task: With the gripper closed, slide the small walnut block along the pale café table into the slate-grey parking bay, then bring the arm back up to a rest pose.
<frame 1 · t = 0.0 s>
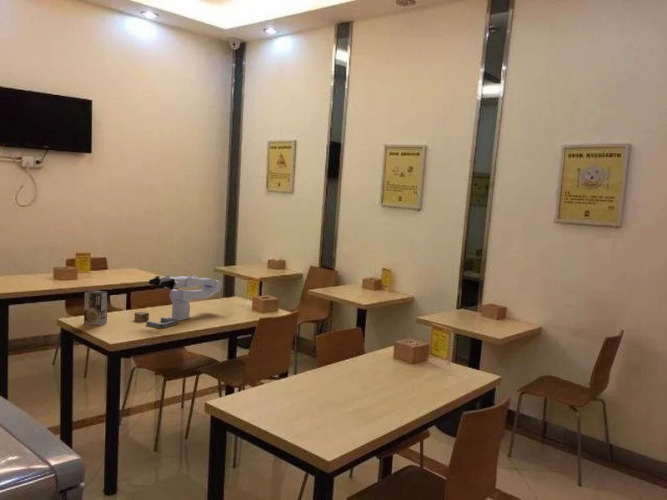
hand: (155, 283, 277), 22 cm above the table, tool horizontal, fingers open, 7 cm apart
walnut block: (141, 320, 286), on the table
bay: (159, 324, 281), on the table
coffee box: (95, 323, 273), on the table
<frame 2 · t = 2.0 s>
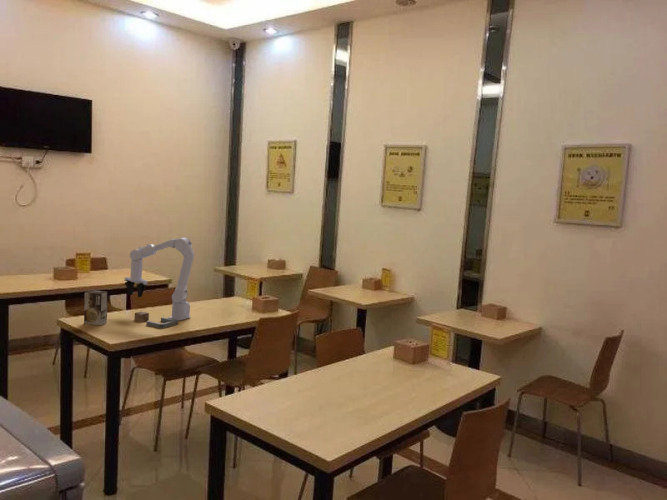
hand: (135, 295, 295), 10 cm above the table, tool pointing down, fingers open, 6 cm apart
nothing on the table moved.
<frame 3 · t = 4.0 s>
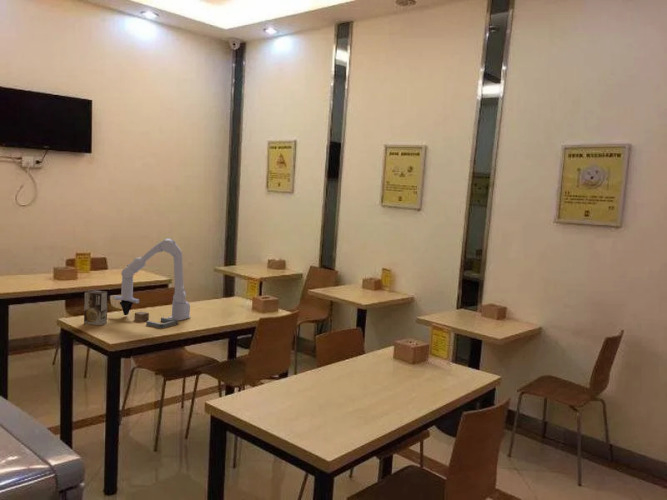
hand: (126, 314, 291), 1 cm above the table, tool pointing down, fingers closed
nothing on the table moved.
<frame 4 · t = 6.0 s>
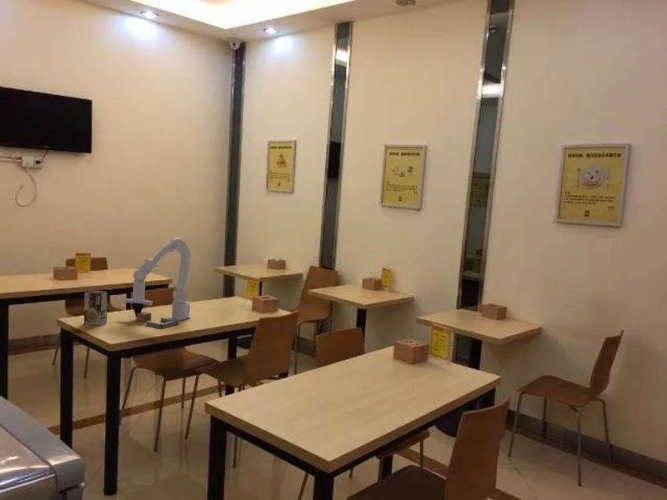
hand: (137, 317, 287), 1 cm above the table, tool pointing down, fingers closed
walnut block: (144, 320, 286), on the table, touching gripper
everything else where it was.
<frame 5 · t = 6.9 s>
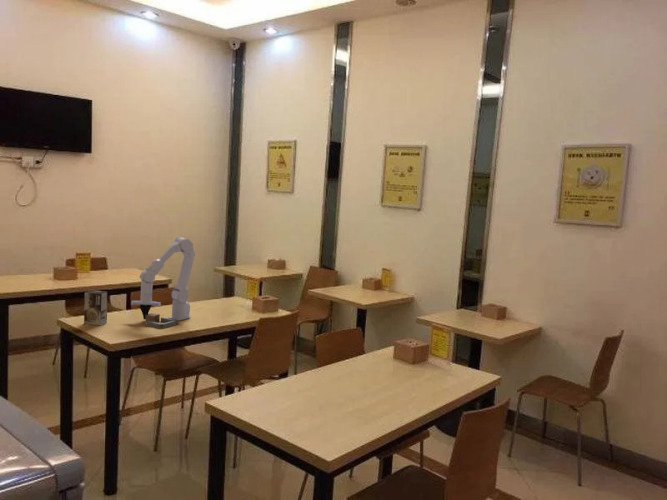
hand: (145, 319, 285), 1 cm above the table, tool pointing down, fingers closed
walnut block: (152, 322, 284), on the table, touching gripper
everything else where it was.
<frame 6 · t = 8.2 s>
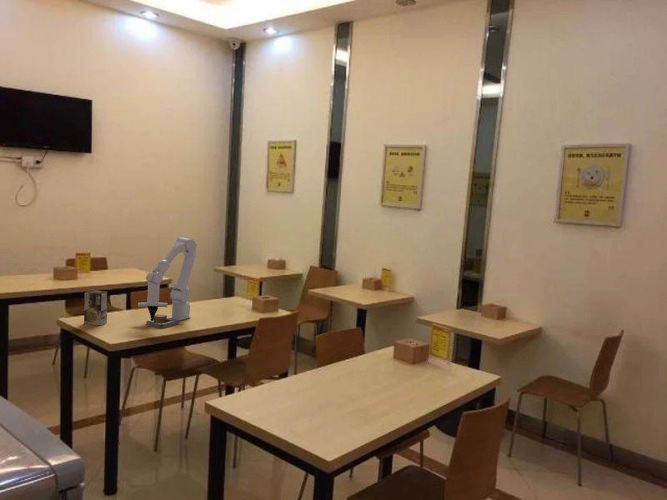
hand: (152, 320, 283), 1 cm above the table, tool pointing down, fingers closed
walnut block: (159, 323, 283), on the table, touching bay, gripper
everything else where it was.
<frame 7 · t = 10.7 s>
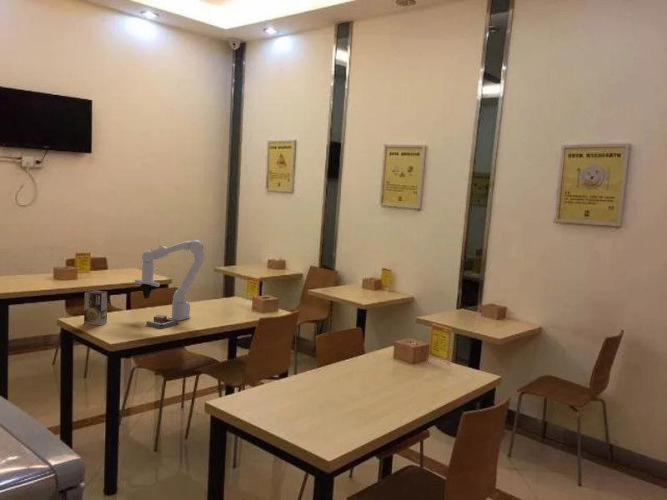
hand: (146, 298, 292), 10 cm above the table, tool pointing down, fingers closed
walnut block: (159, 323, 283), on the table
everything else where it was.
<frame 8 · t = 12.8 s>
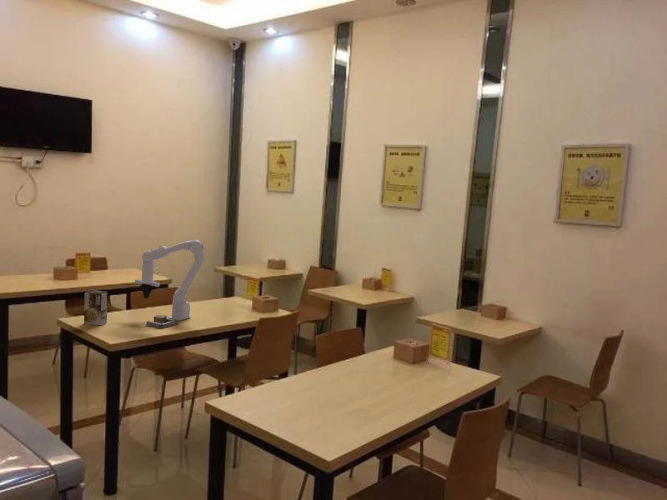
hand: (146, 298, 292), 10 cm above the table, tool pointing down, fingers closed
nothing on the table moved.
at the end: walnut block inside the target area on the bay (1.6 cm from its centre), point 0.0 cm above the bay's base; walnut block tilted 0°; the gripper is holding nothing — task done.
